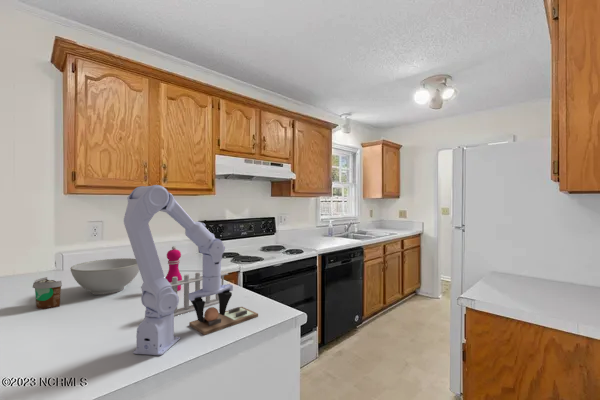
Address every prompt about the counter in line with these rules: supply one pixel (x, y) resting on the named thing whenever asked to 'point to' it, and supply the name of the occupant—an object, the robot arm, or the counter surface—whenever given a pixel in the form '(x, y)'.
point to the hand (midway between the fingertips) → (211, 317)
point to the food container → (47, 293)
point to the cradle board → (224, 320)
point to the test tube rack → (197, 287)
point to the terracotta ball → (211, 314)
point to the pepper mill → (174, 266)
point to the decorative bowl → (105, 274)
